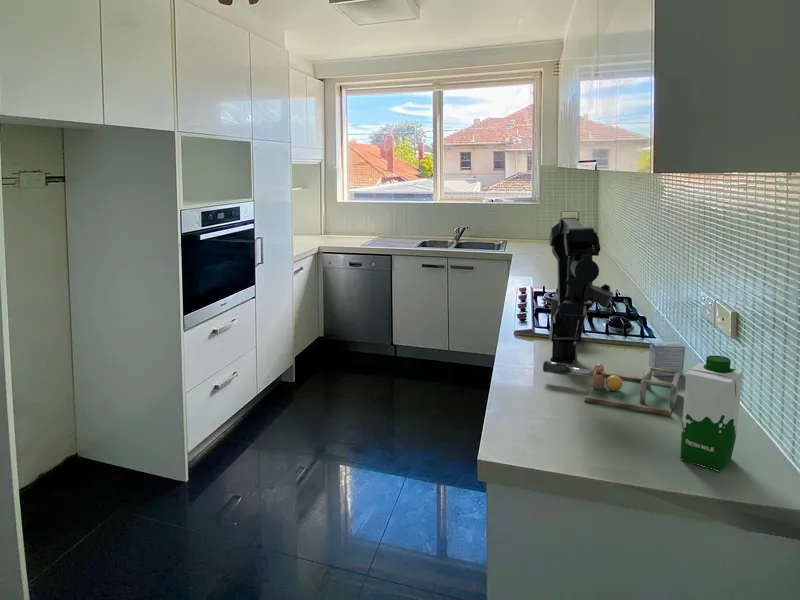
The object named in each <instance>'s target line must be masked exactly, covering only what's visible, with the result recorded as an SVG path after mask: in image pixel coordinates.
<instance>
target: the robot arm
mask: <svg viewBox="0 0 800 600" xmlns="http://www.w3.org/2000/svg"><path fill="white" fill-rule="evenodd" d="M549 246H550V247H551V254H553V256H554V258H555V259H556V261H557V265H556V266H557V296H558V309H557V311H556V313H555V314H554V316H553V321H552V322H551V321H550V326H549V331H548V332H549V334H548V335H549V336H548V338H549V339H550V341H551V342H552V348H551V349H552V354H551V357H550V358H549V359H550V361H551V362H558V363H565V364H572V363H574V361H575V360H576V359H577V358H578V354H579V353H578V348H579V347H578V346H579V345H578V344H577V343H579V342H581V341H582V335H583V331H584V323H585V320H586V315H587V312H588V310H589V309H590V308H592V307H593V306H594V304H595V303H596V304H598V305H600V306H602V307H604V308H607V307H608V306H609V305H610V302H611V300H612V297H613V296H614V292H613V291H611V286H610V285H608V284H606V283H604V284H603V285H601V286H599V285H598V286H596V285H594V283H593V282H595V280H596V279H597V278H598V276H599V275H600V274H599V273H600V268H599V265H598V264H597V262H595V261H594V260H593V257H595V256H596V257H597V256H600V252H601V245H600V239H599V236H598V233H597V232H596V231H595V229H594V228H593V227H591V226H583V224H581V223H580V220H579V218H578V217H574V216H573V217H572V216H571V217H561V218H559V222H558V223H557V224H555V225H554V226H553V227H552V228H551V229H550V234H549ZM554 334H555V335H554Z"/></svg>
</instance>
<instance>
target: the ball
mask: <svg viewBox="0 0 800 600" xmlns="http://www.w3.org/2000/svg"><path fill="white" fill-rule="evenodd" d="M606 386H607V388H608V389H610V390H612V391H617V390H619V389H621V387H622V380H621V378H620V377H618V376H616V375H611V376H609V377H608V378H607V380H606Z"/></svg>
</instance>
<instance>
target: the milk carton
mask: <svg viewBox="0 0 800 600" xmlns="http://www.w3.org/2000/svg"><path fill="white" fill-rule="evenodd" d="M731 363H732V360H731V359H730V358H728V357H726V356H722V355H721V356H720V355H708V356H706V359H705V363H703V362H699V363H697V364H696V365H695V366H693V367H691V368H690V369H689V370H688V371H686V373H685V384H684V386H685V389H684V390H685V391H684V399H683V410H682V423H681V436H680V437H681V438H680V458H679V459H683V460H686V461H689V462H692V463H695V464H699V465H702V466H705V467H708V468H712V469H715V470H718V471H720V470H721V469H722V468H723V469H724V467H725V466H726V465H727V464H728V463H729V462H730V460H731V459H732V456H733V451H734V448H735V447H734V446H735V443H736V439H737V438H736V437H737V430H738V424H739V423H738V420H739V414H740V413H739V412H740V405H741V392H742V381H743V375H744V374H743V373H744V372H743V370H738V369H735V368H731ZM683 460H682V461H683ZM686 461H685V462H686ZM689 462H688V463H689ZM727 462H728V463H727ZM692 463H691V464H692ZM726 463H727V464H726ZM695 464H694V465H695ZM725 464H726V465H725ZM702 466H701V467H702ZM705 467H704V468H705ZM708 468H707V469H708ZM723 469H722V470H723ZM722 470H721V471H722ZM721 471H720V472H721Z"/></svg>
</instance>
